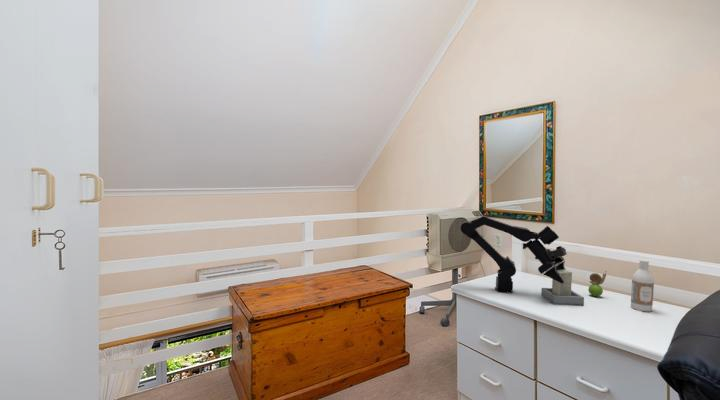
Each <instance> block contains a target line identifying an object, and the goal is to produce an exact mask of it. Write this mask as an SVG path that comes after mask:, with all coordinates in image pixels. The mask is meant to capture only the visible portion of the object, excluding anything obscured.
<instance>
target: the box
mask: <svg viewBox="0 0 720 400" xmlns="http://www.w3.org/2000/svg"><path fill="white" fill-rule="evenodd" d="M540 293H541V295H540V296H542V297H543V298H544V299H545V300H547V301H548V302H550V303H551V304H552V305H555V306H578V307H579V306H580V307H581V306H582V307H583V306H585V297H584V296H582V295H580V294H579V293H577V292H575V291H574V290H572V289H571V296H555V295H554V294H552V287H541V292H540Z"/></svg>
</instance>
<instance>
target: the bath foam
mask: <svg viewBox="0 0 720 400" xmlns="http://www.w3.org/2000/svg"><path fill="white" fill-rule="evenodd" d="M649 263H650V261H649V260H646V259H639V263H638V264H639V265H638V269H637V270H635V272H634V273H633V275H632V279H631V295H630V307H631V308H632V309H633V310H636V311H640V312H648V313H649V312H652V311H653V303H654V288H655V279H654V277H653V275H652V273H651V272H650V270H649Z"/></svg>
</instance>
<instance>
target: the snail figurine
mask: <svg viewBox="0 0 720 400" xmlns="http://www.w3.org/2000/svg"><path fill="white" fill-rule="evenodd" d="M604 272H605V273H602V275H600V274H599V273H596V272H594V273H591V274H590V275H589V281H588V282H589V283H590V284H591V285H589V286H588V289H587V291H588V293H589V294H590V295H591V296H593V297H600V296H602V295H603V293H604V290H603V287H602V286H601V285H602V284H604V282H605V280H606V277H607V271H606V270H605V271H604Z"/></svg>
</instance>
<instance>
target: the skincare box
mask: <svg viewBox="0 0 720 400" xmlns="http://www.w3.org/2000/svg"><path fill="white" fill-rule="evenodd" d="M556 271H557V272H558V274H559V275H560V277H561V278H562V280H563V281H564V283H560V282H558V281H556V280H554V279H552V278H551V279H552V281H551V283H552V284H551V288H552V294H554V295H555V296H571V290H572V285H573V284H572V282H573V281H572V280H573V279H572V278H573V272H572V271H570V270H567V269H566V270H556Z"/></svg>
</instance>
